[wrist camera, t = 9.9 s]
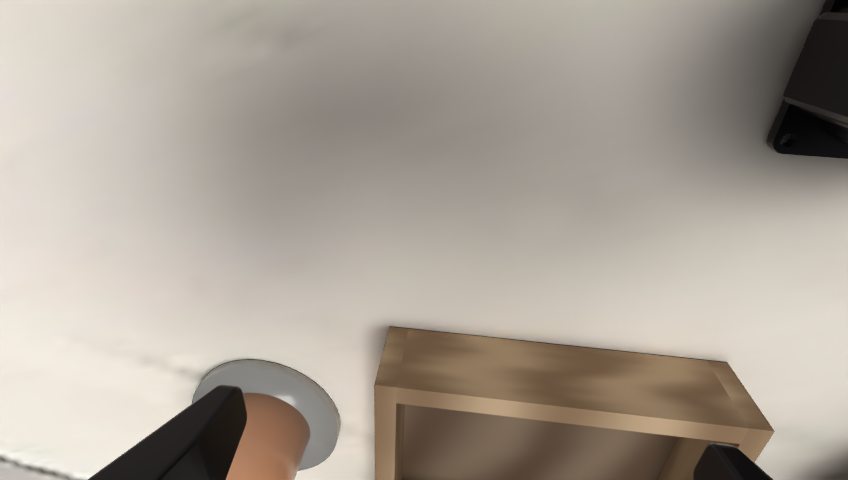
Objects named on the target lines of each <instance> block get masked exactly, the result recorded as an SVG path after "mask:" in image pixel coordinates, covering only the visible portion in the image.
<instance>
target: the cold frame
mask: <svg viewBox="0 0 848 480" xmlns="http://www.w3.org/2000/svg"><path fill="white" fill-rule="evenodd" d="M374 397H375V480H693V472H694V468H695V466H696V464H697V462H698V461H699V459H700V457H701V455H702V453H703V452H704V450H705V448H706V446H707V445H708V444H710V443H721V444H729V445H733V446H735V447H737V448H738V449H739V450H741V451H742V452H743V453H744V454H745V455H746V456H747V457H748V458H750V459H751V460H752V461H753V462H755V461H756V459H757V458H758V456H759V455H760V453H761V452H762V450H763V448H764V447H765V445H766V444H767V442H768V441H769V439H770V438H771V436H772V435H773V433H774V432H775V431H774V430H773V428H772V427H771V426H770V424H769V423H768V421H767V420H766V418H765V417H764V415H763V414H762V412H761V411H760V409H759V408H758V407H757V405H756V404H755V402H754V401H753V399H752V398H751V396H750V395H749V393H748V392H747V390H746V389H745V388H744V386H743V385H742V383H741V382H740V380H739V379H738V377H737V376H736V374H735V373H734V372H733V370H732V369H731V367H730V366H729V364H728V363H726V362H717V361H707V360H698V359H689V358H679V357H670V356H661V355H651V354H642V353H632V352H623V351H614V350H604V349H595V348H585V347H576V346H567V345H557V344H548V343H539V342H529V341H520V340H510V339H501V338H492V337H482V336H473V335H463V334H454V333H445V332H435V331H426V330H416V329H407V328H398V327H390V328H389V332H388V335H387V339H386V343H385V347H384V351H383V354H382V358H381V362H380V366H379V369H378V373H377V377H376V381H375V385H374Z"/></svg>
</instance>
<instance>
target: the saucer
mask: <svg viewBox="0 0 848 480" xmlns="http://www.w3.org/2000/svg"><path fill="white" fill-rule="evenodd" d="M219 385H232V386H238V387H240V388H241V389H242V392H243V394H244V393H260V394H266V395H270V396H273V397H276V398H278V399H281V400H283V401H285V402H287V403H288V404H290V405H291V406H293V407H294V408H295V409H297V410H298V411H299V412H300V413H301V414H302V415H303V417H304V418H305V419H306V421H307V423H308V425H309V428H310V440H309V442H308V445H307V447H306V450H305V453H304V455H303V458H302V461H301V463H300V466H299V468H298V471H299V470H305V469H308V468H311V467H314V466H316V465H318V464H320V463H322V462H323V461H325V460H326V459H327V458H328V457H329V456H330V454H331V453H332V452H333V450H334V448H335V445H336V442H337V439H338V436H339V432H340V417H339V413H338V410H337V408H336V406H335V404H334V402H333V401H332V400H331V398H330V397H329V395H328V394H327V393H326V392H325V391H324V390H323V389H322V388H321V387H320V386H319V385H317V384H316V383H315V382H314V381H312V380H311V379H309V378H308V377H306V376H305V375H303V374H301V373H299V372H297V371H295V370H293V369H291V368H288V367H285V366H283V365H280V364H276V363H272V362H267V361H261V360H238V361H232V362H228V363H225V364H222V365H220V366H218V367H216V368H215V369H213V370H212V371H210V372H209V373H208V374H207V375H206V377H205V378H204V379H203V381H202V382H201V384H200V385H199V386H198V388H197V389H196V391H195V393H194V395H193V399H192V404H193V403H194V402H196V401H197V400H198V399H200V398H201V397H203V396H204V395H205V394H207V393H208V392H210V391H211V390H212V389H214V388H215V387H217V386H219Z"/></svg>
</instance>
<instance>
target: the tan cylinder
mask: <svg viewBox="0 0 848 480" xmlns="http://www.w3.org/2000/svg"><path fill="white" fill-rule="evenodd" d="M243 396H244V401H245V406H246V410H247V422H246V426H245V429H244V432H243V434H242V437H241V440H240V443H239V445H238V448H237V451H236V453H235V456H234V459H233V461H232V464H231V467H230V470H229V472H228V475H227V478H226V480H294V479H295V476H296V474H297V471H298V468H299V466H300V463H301V461H302V458H303V455H304V453H305V450H306V447H307V445H308V442H309V440H310V428H309V425H308V423H307V421H306V419H305V418H304V417H303V415H302V414H301V413H300V412H299V411H298V410H297V409H295V408H294V407H293V406H291V405H290V404H288V403H287V402H285V401H283V400H281V399H278V398H276V397H273V396H270V395H266V394H260V393H244V394H243Z"/></svg>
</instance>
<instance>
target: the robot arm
mask: <svg viewBox="0 0 848 480" xmlns="http://www.w3.org/2000/svg"><path fill="white" fill-rule="evenodd" d="M783 96H784V100H783V102H782V105H781V107H780V109H779V112H778V114H777V116H776V119H775V121H774V123H773V126H772V128H771V130H770V133H769V135H768V138H767V144H768V147H770V148H771V149H772V150H774V151H776V152H778V153H782V154H793V155H806V156H820V157H833V158H846V159H848V0H826V2H825V5H824V7H823V9H822V12H821V14H820V16H819V17H818V18H817V19H816V20H815V21H814V23H813V26H812V28H811V30H810V33H809V35H808V38H807V40H806V42H805V45H804V47H803V49H802V52H801V54H800V56H799V59H798V61H797V63H796V66H795V68H794V70H793V73H792V75H791V77H790V80H789V82H788V84H787V87H786V89H785V91H784V94H783ZM787 134H790V136H789V139H788V140H787V141H786V142H785V143H783V144H780V143H781V139H782V138H783V137H784V136H785V135H787ZM246 422H247V410H246V406H245V401H244V396H243V392H242V389H241V388H240V387H238V386H232V385H219V386H217V387H215V388H214V389H212V390H211V391H210V392H208V393H207V394H205V395H204V396H203V397H201V398H200V399H198V400H197V401H196V402H194V403H193V404H192V405H190V406H189V407H187V408H186V409H185V410H183V411H182V412H180V413H179V414H178V415H176V416H175V417H174V418H172V419H171V420H169V421H168V422H167V423H165V424H164V425H162V426H161V427H160V428H158V429H157V430H156V431H154V432H153V433H151V434H150V435H149V436H147V437H146V438H145V439H143V440H142V441H140V442H139V443H138V444H136V445H135V446H133V447H132V448H131V449H129V450H128V451H127V452H125V453H124V454H122V455H121V456H120V457H118V458H117V459H115V460H114V461H113V462H111V463H110V464H109V465H107V466H106V467H104V468H103V469H102V470H100V471H99V472H98V473H96V474H95V475H93V476H92V477H91V478H89V479H88V480H226V478H227V475H228V472H229V470H230V467H231V464H232V461H233V459H234V456H235V453H236V451H237V448H238V445H239V443H240V440H241V437H242V434H243V432H244V429H245V426H246ZM693 480H773V479H772V478H771V477H770V476H769V475H767V474H766V473H765V472H764V471H763V470H762V469H761V468H760V467H759V466H757V465H756V464H755V463H754V462H753V461H752V460H751V459H750V458H748V457H747V456H746V455H745V454H744V453H743V452H742V451H741V450H739V449H738V448H737V447H735V446H733V445H729V444H721V443H710V444H708V445H707V446H706V448H705V450H704V452H703V453H702V455H701V457H700V459H699V461H698V462H697V464H696V466H695V468H694V472H693Z"/></svg>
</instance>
